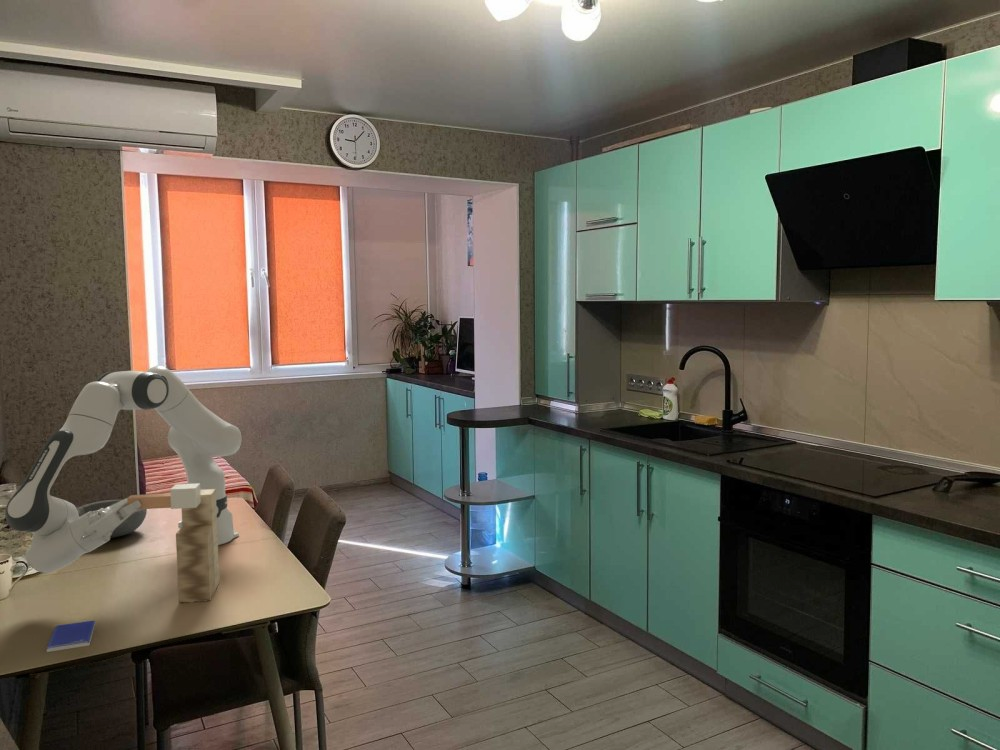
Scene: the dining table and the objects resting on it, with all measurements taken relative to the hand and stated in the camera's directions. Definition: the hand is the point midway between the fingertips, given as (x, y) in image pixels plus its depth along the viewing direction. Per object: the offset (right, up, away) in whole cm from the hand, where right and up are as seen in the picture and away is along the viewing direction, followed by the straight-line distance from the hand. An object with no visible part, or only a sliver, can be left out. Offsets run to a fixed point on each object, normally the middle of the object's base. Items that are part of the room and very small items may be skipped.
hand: (142, 500), depth 189 cm
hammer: (+5, -2, +1) cm, 5 cm away
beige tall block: (+11, -26, +8) cm, 29 cm away
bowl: (-38, -22, +57) cm, 72 cm away
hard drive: (-7, -29, -19) cm, 35 cm away
